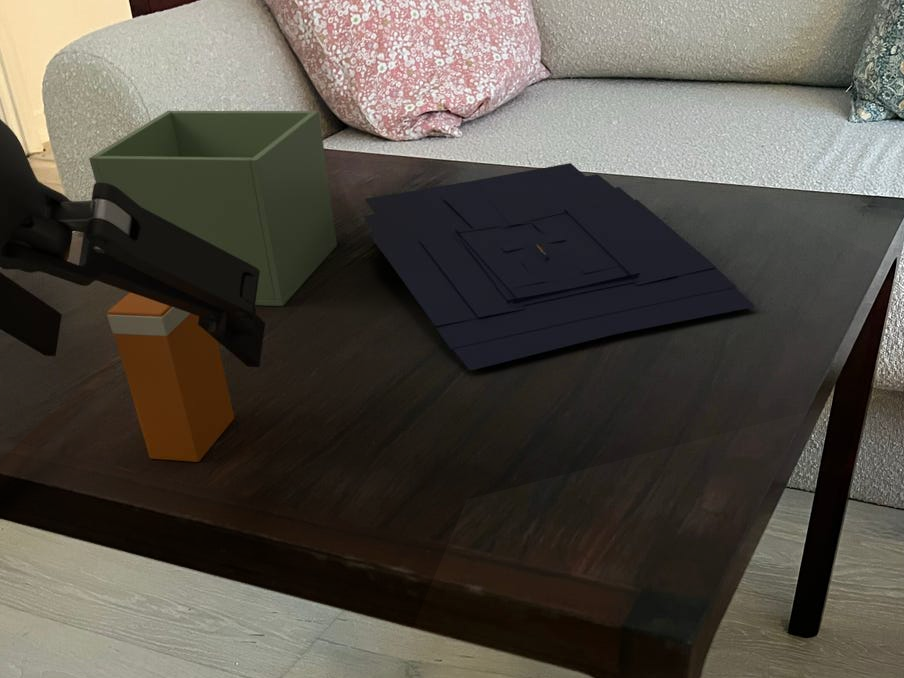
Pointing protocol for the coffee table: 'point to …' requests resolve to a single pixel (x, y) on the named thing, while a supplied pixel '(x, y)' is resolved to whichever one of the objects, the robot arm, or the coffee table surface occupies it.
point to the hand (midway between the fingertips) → (153, 340)
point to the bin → (234, 187)
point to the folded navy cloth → (542, 263)
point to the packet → (172, 377)
